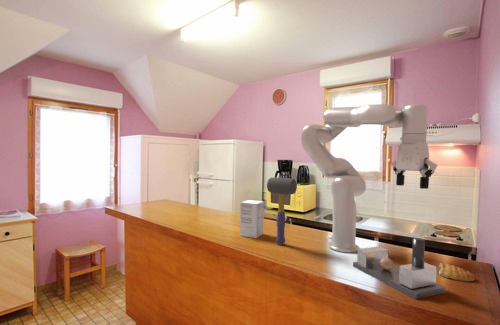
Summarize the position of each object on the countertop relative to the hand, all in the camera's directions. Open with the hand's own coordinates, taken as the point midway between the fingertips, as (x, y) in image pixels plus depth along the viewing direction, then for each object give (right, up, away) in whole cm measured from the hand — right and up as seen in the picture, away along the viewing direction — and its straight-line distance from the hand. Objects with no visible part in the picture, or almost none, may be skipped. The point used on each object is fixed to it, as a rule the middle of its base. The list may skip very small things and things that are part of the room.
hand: (411, 186), depth 96 cm
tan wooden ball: (-13, -25, -7) cm, 29 cm away
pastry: (+9, -30, -7) cm, 32 cm away
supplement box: (-57, -28, +38) cm, 74 cm away
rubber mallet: (-45, -28, +24) cm, 58 cm away
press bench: (-12, -29, -10) cm, 32 cm away
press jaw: (-9, -27, -17) cm, 33 cm away
